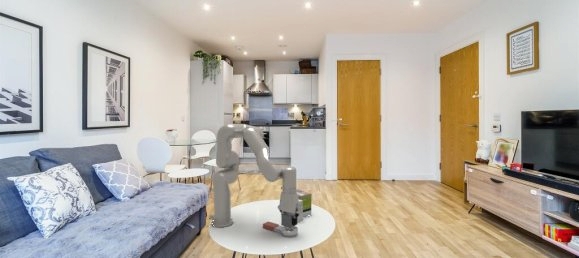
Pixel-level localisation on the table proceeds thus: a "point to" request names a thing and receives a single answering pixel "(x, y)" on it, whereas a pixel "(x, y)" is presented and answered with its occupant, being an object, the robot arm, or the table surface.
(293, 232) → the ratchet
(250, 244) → the table surface
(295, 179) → the robot arm
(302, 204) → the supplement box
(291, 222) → the brushed grey cube
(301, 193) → the tea box
